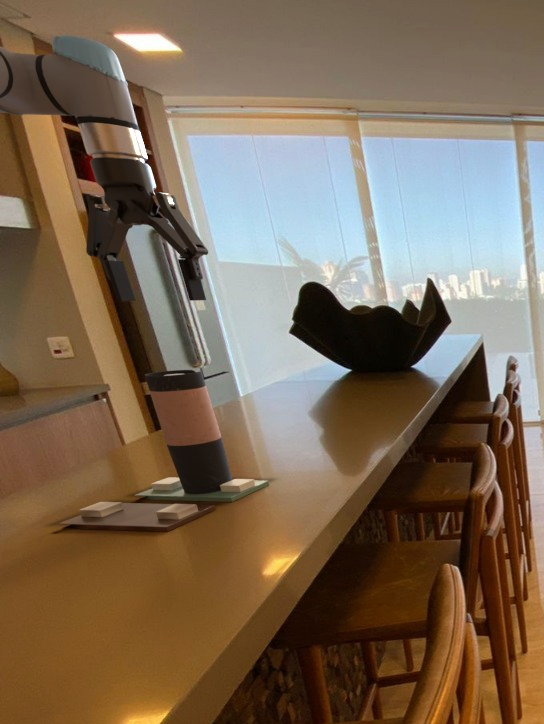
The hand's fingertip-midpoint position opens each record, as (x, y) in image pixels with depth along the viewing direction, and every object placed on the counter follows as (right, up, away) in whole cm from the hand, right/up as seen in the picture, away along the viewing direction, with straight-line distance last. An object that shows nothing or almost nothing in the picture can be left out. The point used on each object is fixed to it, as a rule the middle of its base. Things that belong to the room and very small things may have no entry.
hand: (162, 301), depth 99 cm
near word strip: (+5, -38, -10) cm, 40 cm away
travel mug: (+7, -33, +1) cm, 34 cm away
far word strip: (+6, -34, +1) cm, 34 cm away
